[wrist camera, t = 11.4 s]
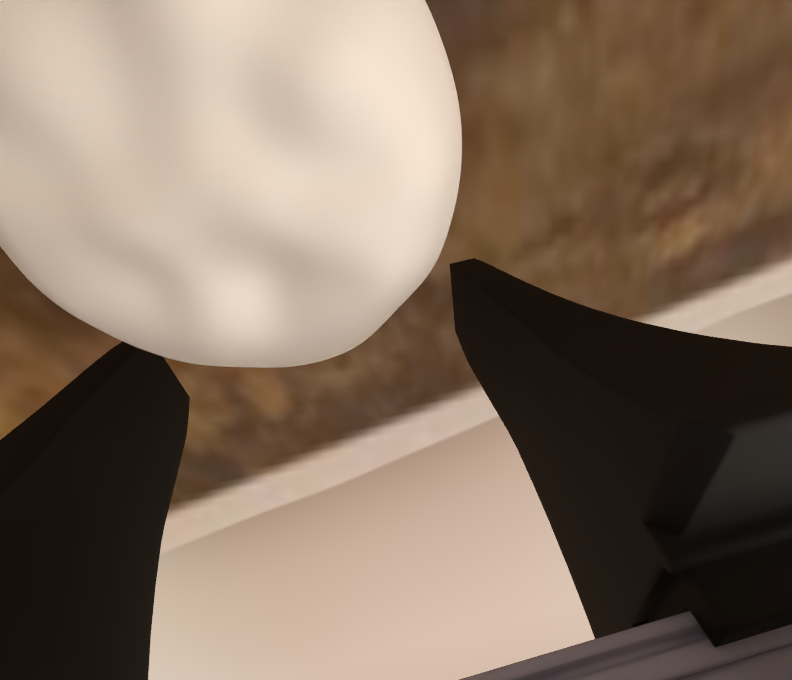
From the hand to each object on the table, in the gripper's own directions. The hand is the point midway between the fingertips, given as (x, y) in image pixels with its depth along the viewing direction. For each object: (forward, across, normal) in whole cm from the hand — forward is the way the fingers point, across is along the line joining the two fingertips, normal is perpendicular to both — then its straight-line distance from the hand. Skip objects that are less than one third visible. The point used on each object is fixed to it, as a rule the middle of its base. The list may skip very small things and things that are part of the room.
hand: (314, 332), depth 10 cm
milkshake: (+4, 0, -5) cm, 6 cm away
